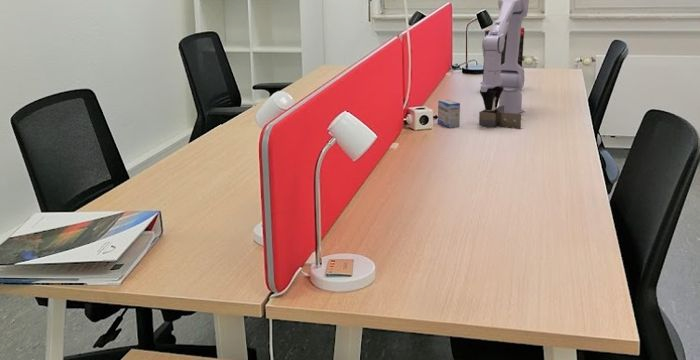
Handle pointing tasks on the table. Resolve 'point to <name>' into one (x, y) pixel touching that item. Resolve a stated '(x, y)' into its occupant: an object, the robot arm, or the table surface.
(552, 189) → the table surface
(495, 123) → the dark brown block
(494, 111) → the grey metal cylinder
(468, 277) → the table surface
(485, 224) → the table surface
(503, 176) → the table surface
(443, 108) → the medicine box
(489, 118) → the brown open box
